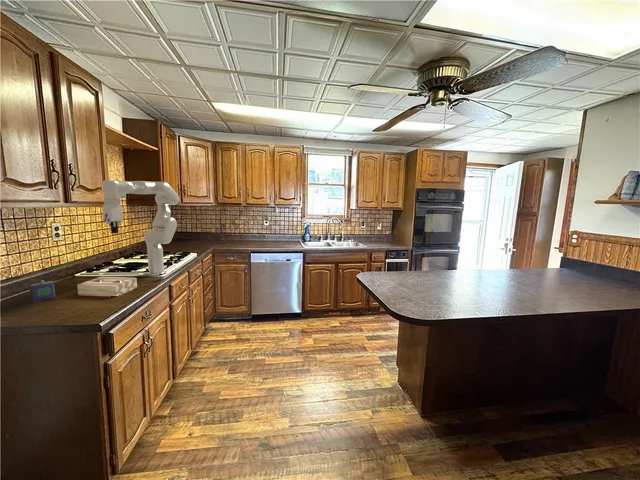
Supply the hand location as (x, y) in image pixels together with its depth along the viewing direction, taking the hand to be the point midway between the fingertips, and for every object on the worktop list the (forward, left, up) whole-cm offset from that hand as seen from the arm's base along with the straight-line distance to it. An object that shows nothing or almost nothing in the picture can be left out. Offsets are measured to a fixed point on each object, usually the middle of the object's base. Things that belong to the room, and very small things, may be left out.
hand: (114, 233), depth 162 cm
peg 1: (+8, -6, -32) cm, 34 cm away
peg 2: (+8, +6, -32) cm, 34 cm away
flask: (+24, -22, -33) cm, 47 cm away
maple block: (+8, 0, -33) cm, 34 cm away
